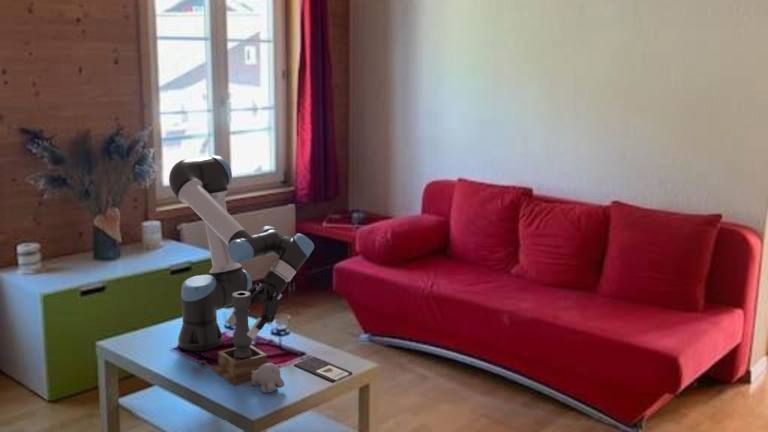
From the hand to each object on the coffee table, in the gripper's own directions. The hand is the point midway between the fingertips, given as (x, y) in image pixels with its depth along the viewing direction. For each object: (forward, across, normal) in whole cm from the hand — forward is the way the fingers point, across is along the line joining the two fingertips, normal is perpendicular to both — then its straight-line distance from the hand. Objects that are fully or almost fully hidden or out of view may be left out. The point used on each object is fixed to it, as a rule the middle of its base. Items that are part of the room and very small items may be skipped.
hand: (239, 330), depth 246 cm
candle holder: (+9, 0, -10) cm, 13 cm away
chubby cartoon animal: (+10, -14, -11) cm, 21 cm away
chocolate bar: (-5, -13, -27) cm, 31 cm away
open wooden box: (+10, 0, -11) cm, 15 cm away
